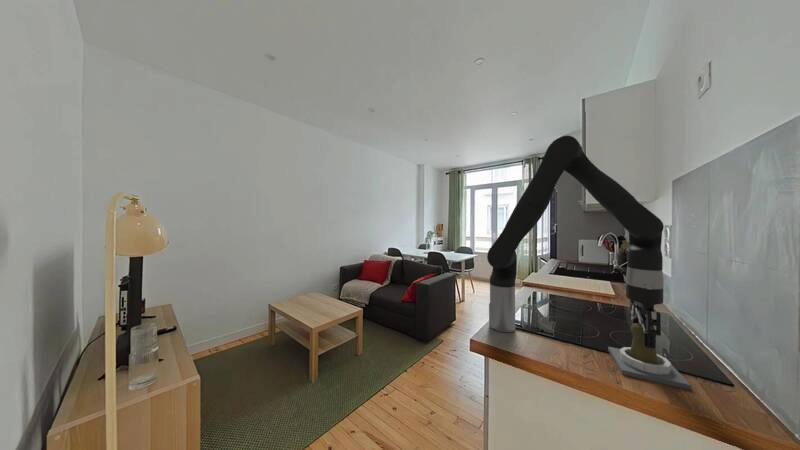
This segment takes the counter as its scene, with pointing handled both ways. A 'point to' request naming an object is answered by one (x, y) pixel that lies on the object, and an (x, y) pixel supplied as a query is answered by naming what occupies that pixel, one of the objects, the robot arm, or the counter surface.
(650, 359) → the cork
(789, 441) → the counter surface
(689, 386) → the stand
